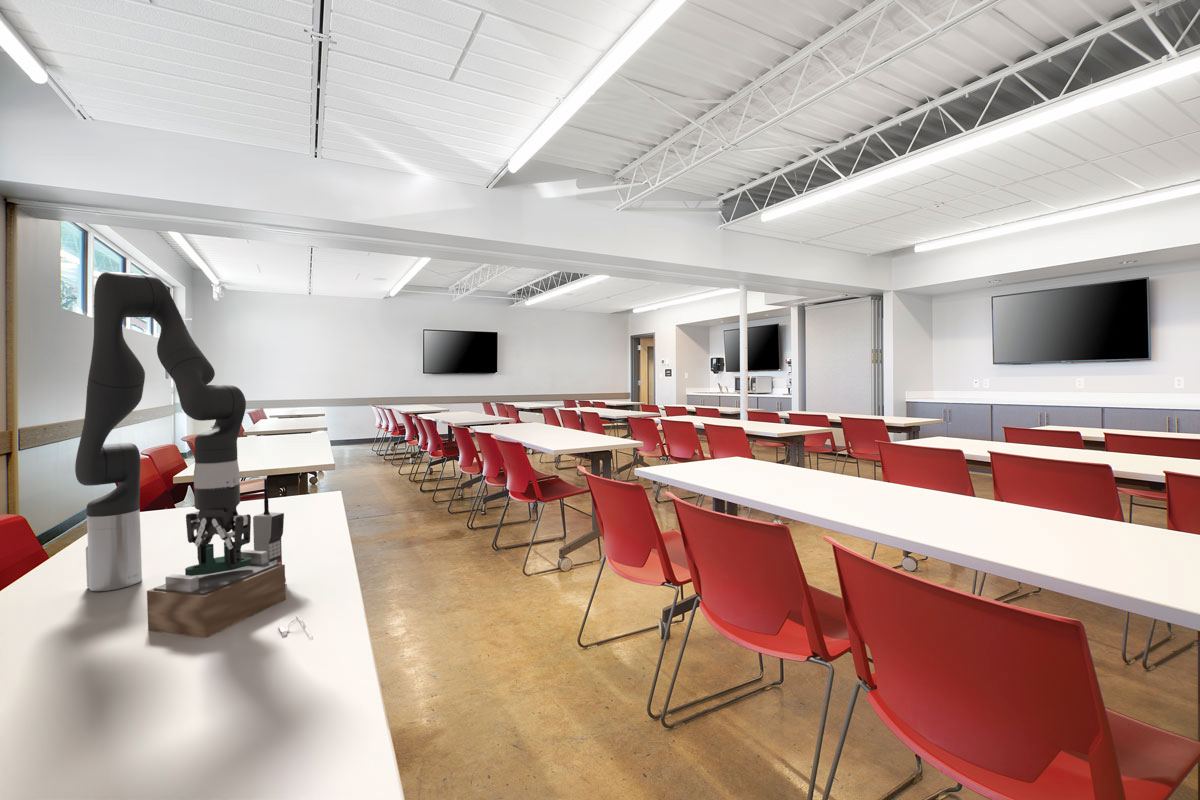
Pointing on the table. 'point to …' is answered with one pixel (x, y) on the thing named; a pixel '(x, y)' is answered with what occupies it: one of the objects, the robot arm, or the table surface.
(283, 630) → the picture light
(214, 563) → the mount
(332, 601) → the table surface
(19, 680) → the table surface
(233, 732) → the table surface
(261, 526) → the vintage mobile phone
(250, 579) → the tray
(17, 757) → the table surface
